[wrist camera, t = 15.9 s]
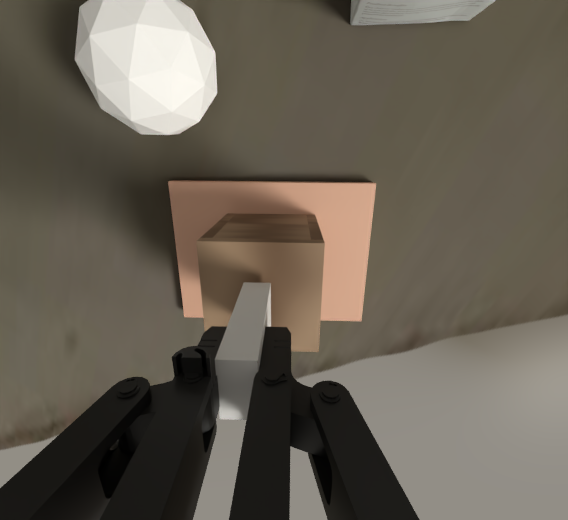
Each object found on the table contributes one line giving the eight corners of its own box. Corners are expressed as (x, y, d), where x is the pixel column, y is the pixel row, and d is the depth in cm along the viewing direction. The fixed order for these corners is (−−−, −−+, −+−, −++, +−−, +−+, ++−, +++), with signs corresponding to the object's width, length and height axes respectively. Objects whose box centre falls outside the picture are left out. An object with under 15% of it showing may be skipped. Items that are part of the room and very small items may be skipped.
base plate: (188, 311, 28) (184, 317, 27) (172, 180, 24) (168, 181, 23) (358, 315, 28) (361, 321, 27) (372, 182, 24) (376, 183, 23)
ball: (169, 65, 24) (95, -70, 16) (253, 93, 22) (214, -47, 14) (113, 139, 22) (2, 29, 15) (198, 176, 20) (120, 71, 13)
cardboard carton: (231, 292, 26) (206, 348, 19) (227, 213, 24) (196, 241, 16) (311, 294, 26) (318, 351, 18) (315, 214, 24) (324, 243, 16)
